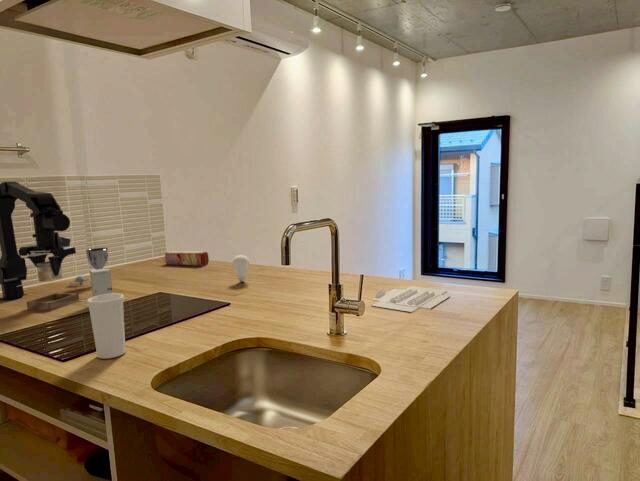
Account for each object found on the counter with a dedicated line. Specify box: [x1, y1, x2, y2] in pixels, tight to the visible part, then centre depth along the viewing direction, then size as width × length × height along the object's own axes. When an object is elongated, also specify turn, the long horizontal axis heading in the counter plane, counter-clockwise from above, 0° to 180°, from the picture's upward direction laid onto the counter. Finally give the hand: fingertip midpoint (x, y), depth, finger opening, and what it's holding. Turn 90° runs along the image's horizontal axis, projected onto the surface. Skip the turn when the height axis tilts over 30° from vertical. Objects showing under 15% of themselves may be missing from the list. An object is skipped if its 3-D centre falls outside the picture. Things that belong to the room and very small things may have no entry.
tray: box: [371, 285, 451, 314], centre depth 147 cm, size 20×28×4 cm
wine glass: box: [85, 247, 109, 270], centre depth 182 cm, size 8×8×15 cm
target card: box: [77, 296, 92, 302], centre depth 165 cm, size 6×9×1 cm, turn 165°
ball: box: [74, 275, 86, 285], centre depth 184 cm, size 4×4×4 cm
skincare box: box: [89, 268, 114, 297], centre depth 153 cm, size 6×4×12 cm
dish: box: [68, 278, 91, 288], centre depth 184 cm, size 7×7×2 cm
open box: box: [26, 292, 80, 312], centre depth 156 cm, size 10×12×3 cm
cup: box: [86, 292, 126, 359], centre depth 108 cm, size 8×8×14 cm
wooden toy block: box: [36, 260, 64, 282], centre depth 154 cm, size 5×5×6 cm
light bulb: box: [232, 254, 250, 283], centre depth 179 cm, size 7×7×11 cm
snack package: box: [164, 250, 210, 267], centre depth 221 cm, size 23×7×7 cm, turn 68°
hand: (50, 275), depth 155 cm, fingers closed on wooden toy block, 5 cm apart
